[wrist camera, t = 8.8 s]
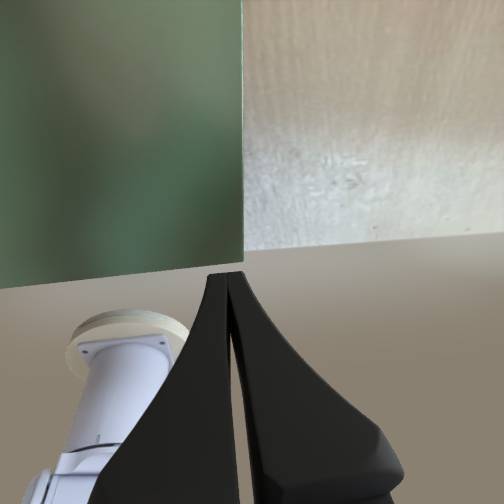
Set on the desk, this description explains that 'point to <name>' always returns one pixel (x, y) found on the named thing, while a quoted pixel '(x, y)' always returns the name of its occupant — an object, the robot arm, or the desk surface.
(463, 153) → the desk surface
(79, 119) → the lid
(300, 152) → the desk surface
